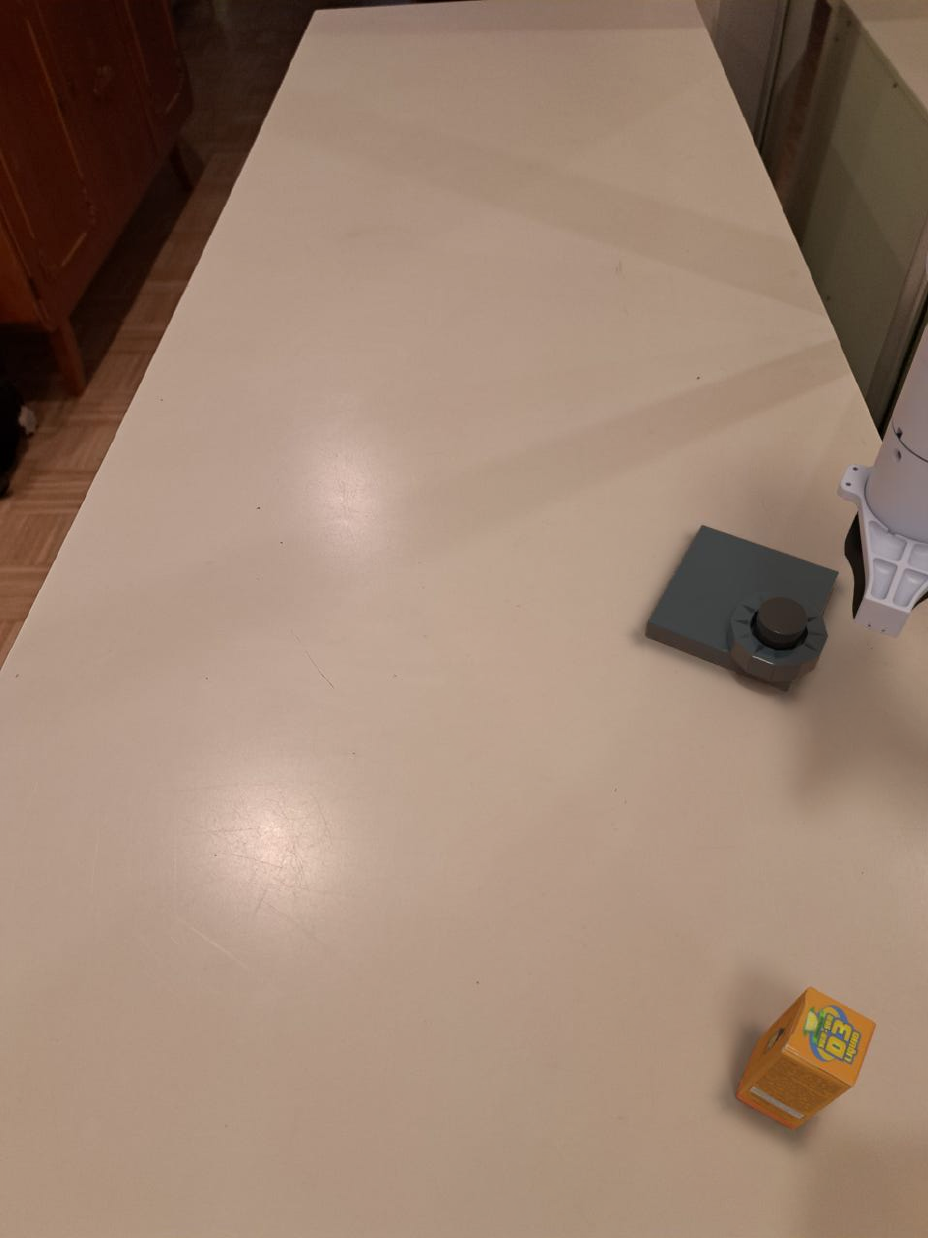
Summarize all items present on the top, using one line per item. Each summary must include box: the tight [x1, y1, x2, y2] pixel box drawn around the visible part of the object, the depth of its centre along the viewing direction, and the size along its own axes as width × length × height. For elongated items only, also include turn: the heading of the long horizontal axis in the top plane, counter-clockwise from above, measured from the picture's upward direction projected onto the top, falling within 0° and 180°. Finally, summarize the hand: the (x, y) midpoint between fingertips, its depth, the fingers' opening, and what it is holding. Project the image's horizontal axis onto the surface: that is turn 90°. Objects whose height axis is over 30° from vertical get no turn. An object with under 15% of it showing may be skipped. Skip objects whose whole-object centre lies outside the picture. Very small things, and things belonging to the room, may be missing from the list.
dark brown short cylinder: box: [754, 597, 808, 650], centre depth 61 cm, size 3×3×2 cm
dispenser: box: [645, 524, 840, 693], centre depth 65 cm, size 11×11×4 cm
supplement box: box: [735, 986, 877, 1131], centre depth 44 cm, size 3×3×10 cm
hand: (873, 617), depth 53 cm, fingers closed
